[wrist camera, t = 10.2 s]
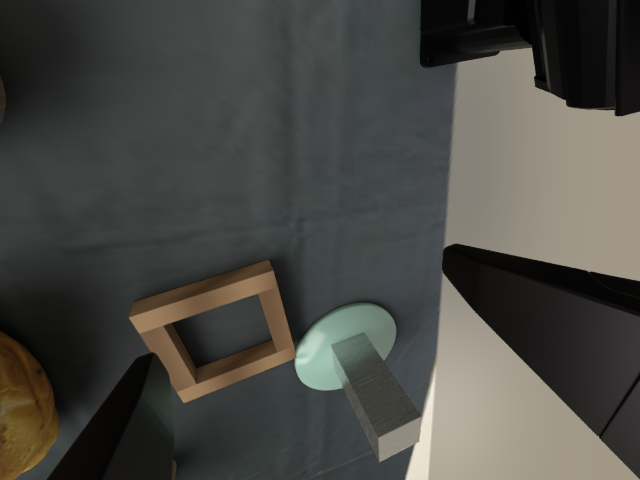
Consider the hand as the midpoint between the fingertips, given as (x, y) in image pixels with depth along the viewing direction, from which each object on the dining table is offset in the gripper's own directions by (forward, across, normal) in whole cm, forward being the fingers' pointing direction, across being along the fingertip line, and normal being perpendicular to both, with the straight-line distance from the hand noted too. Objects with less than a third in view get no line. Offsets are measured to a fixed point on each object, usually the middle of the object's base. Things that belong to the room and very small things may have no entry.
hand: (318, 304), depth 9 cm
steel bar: (+12, -5, +19) cm, 23 cm away
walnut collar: (+13, +5, +11) cm, 18 cm away
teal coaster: (+13, -5, +19) cm, 24 cm away
